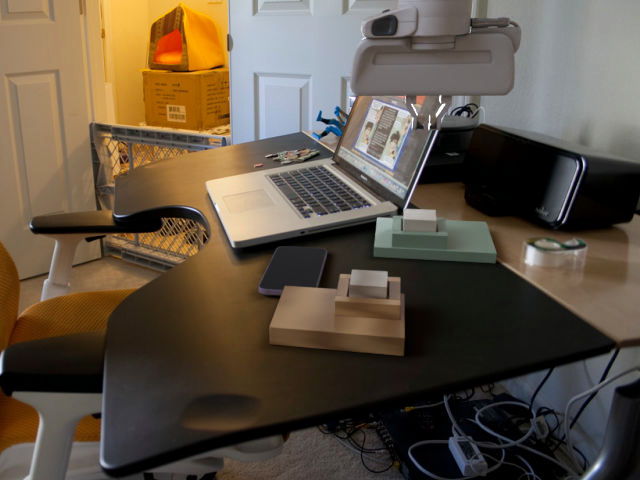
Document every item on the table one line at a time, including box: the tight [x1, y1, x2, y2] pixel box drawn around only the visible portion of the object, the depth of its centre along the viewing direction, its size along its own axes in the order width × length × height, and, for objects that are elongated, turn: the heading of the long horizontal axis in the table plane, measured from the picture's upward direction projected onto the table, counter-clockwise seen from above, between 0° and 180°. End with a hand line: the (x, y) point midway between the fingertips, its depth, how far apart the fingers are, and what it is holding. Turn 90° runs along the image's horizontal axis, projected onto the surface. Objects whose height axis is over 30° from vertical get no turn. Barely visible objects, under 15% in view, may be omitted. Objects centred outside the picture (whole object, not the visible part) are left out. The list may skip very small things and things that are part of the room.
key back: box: [402, 208, 438, 232], centre depth 89 cm, size 4×4×2 cm
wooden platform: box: [268, 273, 406, 357], centre depth 71 cm, size 14×10×4 cm
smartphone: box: [258, 245, 328, 297], centre depth 84 cm, size 7×1×15 cm
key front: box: [349, 269, 389, 299], centre depth 71 cm, size 4×4×2 cm
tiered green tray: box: [373, 215, 498, 264], centre depth 91 cm, size 16×12×4 cm
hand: (426, 129), depth 84 cm, fingers closed
